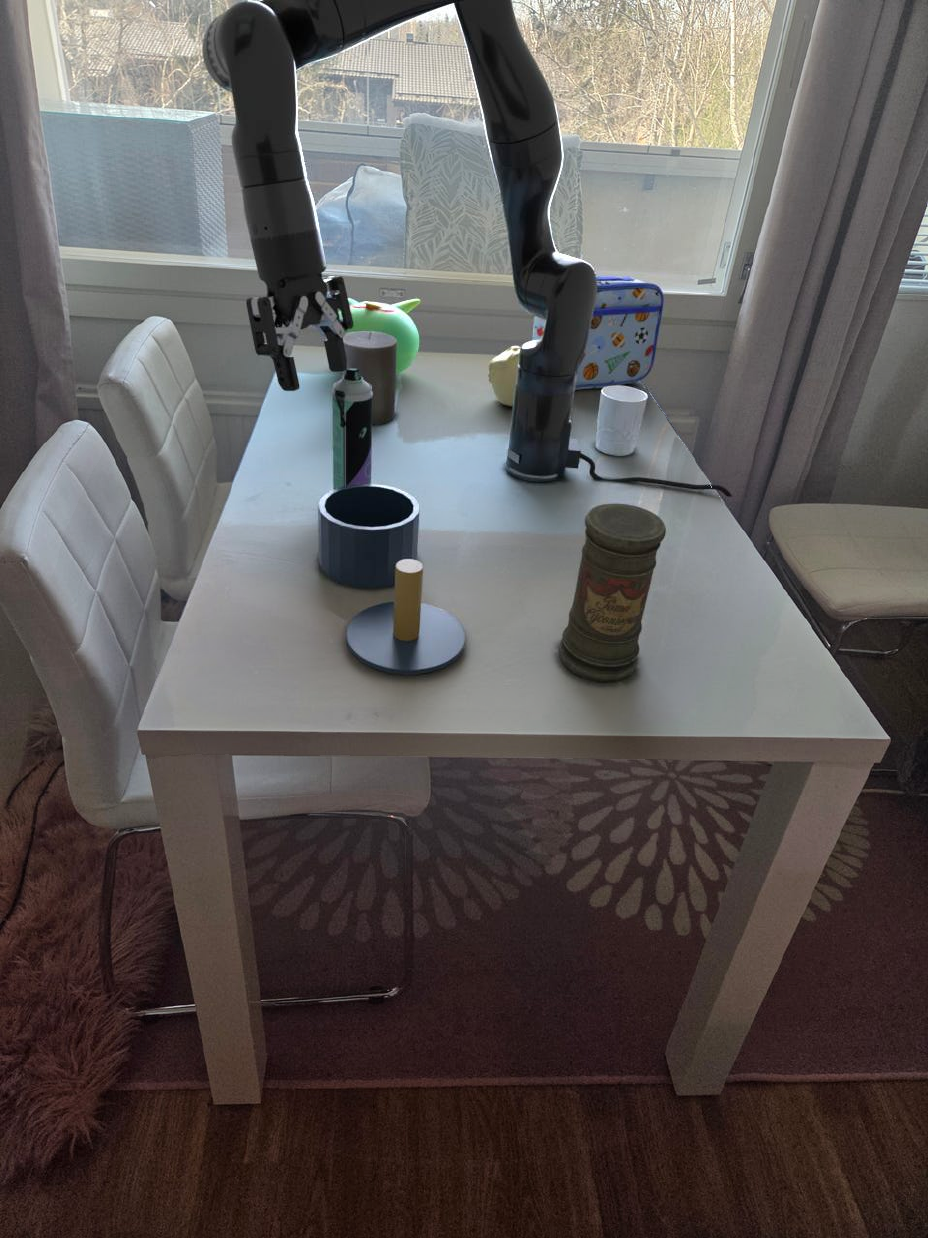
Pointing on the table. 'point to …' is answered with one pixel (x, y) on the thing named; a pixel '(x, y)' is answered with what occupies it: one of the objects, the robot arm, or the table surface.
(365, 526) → the tin
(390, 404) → the pillar candle
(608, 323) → the lunch box
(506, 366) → the sculpture
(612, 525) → the container
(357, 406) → the spray can
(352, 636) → the lid
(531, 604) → the table surface
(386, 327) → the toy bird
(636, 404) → the white cup
